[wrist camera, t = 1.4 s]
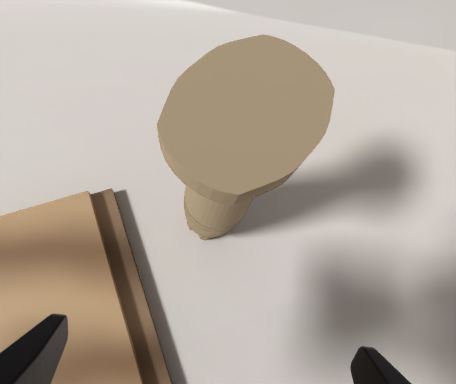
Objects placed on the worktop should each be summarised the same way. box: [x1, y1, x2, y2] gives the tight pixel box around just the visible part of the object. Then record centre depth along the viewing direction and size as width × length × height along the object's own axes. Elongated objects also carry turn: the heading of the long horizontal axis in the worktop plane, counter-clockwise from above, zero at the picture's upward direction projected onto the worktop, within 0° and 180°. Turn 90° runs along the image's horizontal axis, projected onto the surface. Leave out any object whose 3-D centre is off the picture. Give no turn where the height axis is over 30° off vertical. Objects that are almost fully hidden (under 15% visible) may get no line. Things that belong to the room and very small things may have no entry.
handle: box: [157, 35, 334, 240], centre depth 17 cm, size 5×6×15 cm
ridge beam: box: [0, 188, 172, 384], centre depth 19 cm, size 22×10×2 cm, turn 22°
